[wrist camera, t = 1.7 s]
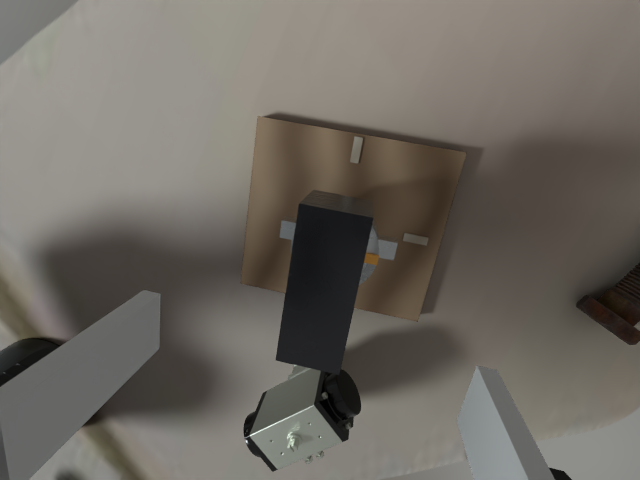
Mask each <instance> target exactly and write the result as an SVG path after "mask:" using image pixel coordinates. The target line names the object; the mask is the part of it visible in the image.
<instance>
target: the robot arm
mask: <svg viewBox="0 0 640 480" xmlns="http://www.w3.org/2000/svg"><path fill="white" fill-rule="evenodd" d="M160 303H161V294H160V293H156V292H151V291H147V290H143V291H141V292H140V293H138V294H137V295H135V296H134V297H132V298H131V299H129V300H128V301H127V302H125V303H124V304H122V305H121V306H119V307H118V308H116V309H115V310H113V311H112V312H110V313H109V314H107V315H106V316H104V317H103V318H101V319H100V320H98V321H97V322H95V323H94V324H93V325H91V326H90V327H88V328H87V329H85V330H84V331H82V332H81V333H79V334H78V335H76V336H75V337H73V338H72V339H70V340H69V341H67V342H66V343H64V344H63V345H61V346H58V345H56V344H53V343H51V342H48V341H44V340H39V339H25V340H20V341H17V342H15V343H13V344H12V345H10V346H8V347H7V348H5V349H3V350H1V351H0V480H29V479H30V478H31V477H32V476H33V475H34V474H35V473H36V472H37V471H38V470H39V469H40V468H41V467H42V466H43V465H44V464H45V463H46V462H47V461H48V460H49V459H50V458H51V457H52V456H53V455H54V454H55V453H56V452H57V451H58V450H59V449H60V448H61V447H62V446H63V445H64V444H65V443H66V442H67V441H68V440H69V439H70V438H71V437H72V436H73V435H74V434H75V433H76V432H77V431H78V430H79V429H80V428H81V427H82V426H83V425H84V424H85V423H86V422H87V421H88V420H89V419H90V418H91V417H92V416H93V415H94V414H95V413H96V412H97V411H98V410H99V409H100V408H101V407H102V406H103V405H104V404H105V403H106V402H107V401H108V400H109V399H110V398H111V397H112V396H113V395H114V394H115V393H116V392H117V391H118V390H119V389H120V388H121V387H122V386H123V385H124V384H125V383H126V382H127V381H128V380H129V379H130V378H131V377H132V376H133V375H134V374H135V373H136V372H137V371H138V370H139V369H140V368H141V367H142V366H143V365H144V364H145V363H146V362H147V361H148V360H149V359H150V358H151V357H152V356H153V355H154V354H155V353H156V352H157V351H158V350H159V349H160ZM457 424H458V427H459V430H460V434H461V437H462V441H463V444H464V447H465V451H466V454H467V458H468V461H469V464H470V468H471V471H472V475H473V478H474V480H571V478H570V477H569V476H568V475H567V474H566V473H565V472H564V471H561V470H556V469H552V468H549V467H548V465H547V464H546V462H545V460H544V458H543V456H542V454H541V452H540V450H539V448H538V447H537V445H536V443H535V441H534V439H533V437H532V435H531V433H530V431H529V430H528V428H527V426H526V424H525V422H524V420H523V418H522V416H521V414H520V412H519V411H518V409H517V407H516V405H515V403H514V401H513V399H512V397H511V395H510V394H509V392H508V390H507V388H506V386H505V384H504V382H503V380H502V378H501V377H500V375H499V373H498V371H497V370H494V369H490V368H485V367H481V366H477V367H476V369H475V372H474V375H473V378H472V380H471V383H470V386H469V388H468V391H467V394H466V397H465V399H464V402H463V405H462V407H461V410H460V413H459V415H458V418H457Z"/></svg>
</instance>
